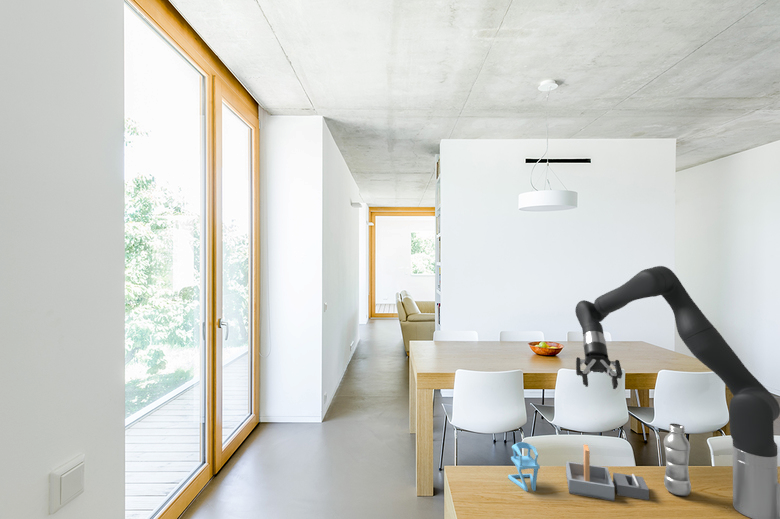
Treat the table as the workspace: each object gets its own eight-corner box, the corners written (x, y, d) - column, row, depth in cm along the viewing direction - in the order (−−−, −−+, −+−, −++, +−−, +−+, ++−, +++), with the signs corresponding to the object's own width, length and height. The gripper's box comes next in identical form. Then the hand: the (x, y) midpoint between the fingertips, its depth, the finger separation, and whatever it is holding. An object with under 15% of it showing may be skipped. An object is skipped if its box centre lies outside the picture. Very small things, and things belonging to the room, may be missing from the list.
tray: (607, 480, 129) (607, 467, 129) (614, 500, 117) (614, 487, 117) (566, 473, 133) (566, 461, 133) (569, 493, 121) (569, 479, 121)
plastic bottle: (695, 500, 118) (695, 431, 118) (669, 497, 119) (669, 429, 119) (684, 488, 124) (684, 422, 124) (659, 485, 125) (659, 420, 126)
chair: (518, 492, 122) (518, 452, 122) (507, 477, 130) (507, 440, 130) (543, 490, 123) (543, 451, 123) (530, 476, 131) (531, 439, 131)
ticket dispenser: (642, 486, 125) (642, 474, 125) (649, 500, 118) (648, 487, 118) (613, 482, 128) (613, 470, 128) (617, 495, 120) (617, 482, 120)
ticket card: (587, 476, 130) (587, 444, 130) (589, 483, 126) (589, 451, 126) (583, 475, 130) (583, 444, 130) (585, 482, 126) (585, 450, 126)
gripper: (574, 339, 149) (578, 379, 138) (618, 341, 145) (626, 383, 134) (573, 351, 154) (577, 390, 143) (615, 353, 150) (622, 394, 139)
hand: (600, 386), depth 139 cm, fingers open, 8 cm apart
